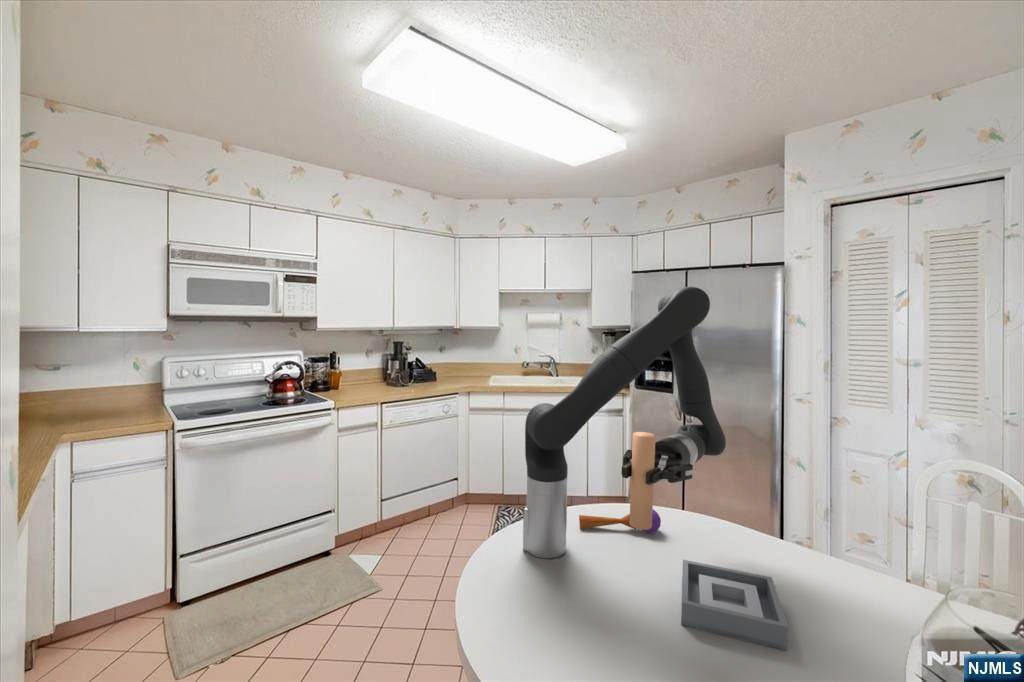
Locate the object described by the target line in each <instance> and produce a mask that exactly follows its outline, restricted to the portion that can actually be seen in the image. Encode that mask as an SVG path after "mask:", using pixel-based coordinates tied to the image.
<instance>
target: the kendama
mask: <svg viewBox="0 0 1024 682" xmlns="http://www.w3.org/2000/svg"><path fill="white" fill-rule="evenodd" d="M578 520H579V529H580V530H583V529H589V528H590V529H591V528H598V527H605V526H611V525H618V524H619V525H620V524H621V525H624V526H627V527H629V528H630V529H633V530H637V529H636V528H634V527H632V526H631V525H630V524H629V522H630V513H629V514H626V515H625V516H623V517H621V518H615V517H607V516H606V517H604V516H594V515H583V514H582V515H581V514H579V515H578ZM661 522H662V520H661V516H660V515H659V513H658V512H657V511H656V510H655V509H652V527H651V528H650V529H648V530H640V531H641V532H643V533H646V534H654V533H656V532H657V531H658V530H659V529H660V528H661Z"/></svg>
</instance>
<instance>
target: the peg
mask: <svg viewBox="0 0 1024 682" xmlns="http://www.w3.org/2000/svg"><path fill="white" fill-rule="evenodd" d="M655 442H656V435H655V433H652V432H645V431H636V432H633V434H632V447H631V448H632V449H631V450H632V471H631V476H630V477H631V478H630V497H629V498H630V499H629V500H630V501H629V504H630V505H629V514H630V522H629V524H630V525H631V526H632V527H634V528H636V530H640V531H641V530H648V529H650V528H651V527H652V509H653V504H654V484H655V483H653V484H651V485H648V484H646V473H647V472H648V471H650V470H652V469H654V462H655ZM653 510H654V509H653Z"/></svg>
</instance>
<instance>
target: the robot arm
mask: <svg viewBox="0 0 1024 682" xmlns="http://www.w3.org/2000/svg"><path fill="white" fill-rule="evenodd" d="M710 307H711V301H710V297H709V294H708V293H706V292H705V291H704V290H703V289H702V288H699V287H696V286H683V287H679V288H677V289H676V288H675V289H673V290H669V291H667V292H666V293H664V294H663V295H662V297H661V298H660V299H659V302H658V306H657V310H658V313H657V314H656V315H654V316H653V317H652V318H651V319H650V320H648V321H647V322H646V323H644V324H643V325H640V326H639V327H637V328H636V329H634V330H632V331H631V332H629V333H627V334H625V335H624V336H622V337H620V338H619V339H618V340H616V341H615V342H613V343H612V344H611V345H610V346H609V347H607V348H606V349H605V350H604V351H603V352H602V353H601V354H599V355H598V357H596V359H595V360H594V361H593V362H592V363H591V364H590V365H589V367H588V369H587V370H586V371H585V373H584V374H583V377H581V379H580V381H579V382H578V384H577V385H576V386H575V388H574V389H573V390H572V391H571V392H570V393H568V394H567V395H566V396H565V397H564V398H562V399H561V400H560V401H558V402H557V403H556V404H552V403H548V402H544V403H543V402H541V403H539V404H536V405H534V406H533V407H532V408H531V409H530V410H529V411H528V414H527V416H526V418H525V424H524V425H525V428H524V439H525V440H524V441H525V442H524V443H525V444H524V449H525V450H524V452H525V453H524V455H525V462H526V506H525V507H524V508H523V511H522V512H523V514H522V515H523V519H522V520H523V521H522V523H523V524H522V526H523V527H522V528H523V529H522V530H523V531H522V534H523V535H522V551H525V552H528V553H529V554H530V555H533V556H534V557H537V558H542V559H554V558H558V557H560V556H562V555H564V554H565V552H566V551H567V523H568V522H567V518H568V517H567V515H568V514H567V513H568V512H567V511H568V474H569V473H568V463H567V459H566V456H565V448H564V447H565V446H566V445H567V444H568V443H569V442H570V441H572V440H573V438H574V437H575V436H576V435H577V434H578V432H579V431H580V430H582V428H583V427H584V426H585V425H586V424H587V423H588V422H589V420H591V418H592V417H594V415H595V414H596V413H597V412H599V411H600V410H601V409H602V408H603V407H605V406H606V405H607V404H608V403H609V402H610V401H611V400H612V399H614V398H615V397H616V396H617V395H619V393H620V392H621V391H623V390H624V389H626V387H628V386H629V385H630V384H631V383H632V382H633V381H634V380H635V379H636V378H637V377H639V376H640V375H641V374H642V373H643V372H644V371H645V370H646V369H647V368H648V367H650V366H651V364H653V362H654V361H656V360H657V359H658V357H660V356H661V355H662V354H663V353H664V352H665V351H666V350H667V349H669V354H670V357H671V361H672V365H673V369H674V376H675V381H676V387H677V396H678V400H679V401H678V402H679V408H680V411H681V413H682V414H683V415H684V416H688V417H693V418H696V419H697V420H699V421H700V422H701V424H683V425H681V426H679V427H678V429H677V432H676V434H672V435H668V436H666V437H663V438H661V439H660V440H657V441H655V462H654V469H652V470H650V471H648V472H647V473H646V484H648V485H651V484H653V483H654V484H656V483H658V482H664V481H665V480H667V482H668V483H670V484H675V483H678V482H683V481H687V480H691V479H693V474H694V473H693V471H694V464H695V463H697V462H698V461H700V460H701V459H702V458H703V457H704V456H711V457H712V456H714V457H716V456H720V455H722V453H723V452H724V451H725V449H726V444H727V441H726V440H727V439H726V435H725V433H724V431H723V429H722V426H721V424H720V423H719V420H718V418H717V416H716V413H715V410H714V406H713V404H712V397H711V396H712V395H711V390H710V389H711V388H710V384H709V378H708V376H707V372H706V370H705V368H704V366H703V363H702V360H701V359H700V357H699V355H698V353H697V349H696V347H695V344H694V339H693V333H692V331H693V329H695V327H697V326H698V325H700V324H701V323H702V322H704V320H705V319H706V317H707V316H708V314H709V311H710V309H711V308H710ZM631 471H632V449H627V450H626V451H625V452H624V454H623V456H622V466H621V476H622V478H624V479H628V478H630V477H631Z"/></svg>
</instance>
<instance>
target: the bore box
mask: <svg viewBox="0 0 1024 682" xmlns="http://www.w3.org/2000/svg"><path fill="white" fill-rule="evenodd" d="M681 575H682V578H681V579H682V580H681V611H680V613H681V614H680V617H681V620H680V624H681V625H680V626H685V627H688V628H689V627H690V628H691V629H692V628H693V629H696V630H700V631H704V632H709V633H713V634H717V635H721V636H725V637H728V638H729V637H730V638H733V639H737V640H741V641H746V642H749V643H753V644H757V645H761V646H765V647H769V648H772V649H777V650H782V651H786V652H787V649H788V633H789V632H788V631H789V627H788V622H787V621H786V617H785V614H784V611H783V608H782V605H781V602H780V598H779V595H778V593H777V590H776V586H775V583H774V579H773V577H772V576H767V575H762V574H758V573H754V572H753V573H752V572H748V571H742V570H737V569H732V568H728V567H727V568H726V567H722V566H717V565H711V564H707V563H703V562H697V561H693V560H688V559H682V574H681Z"/></svg>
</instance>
